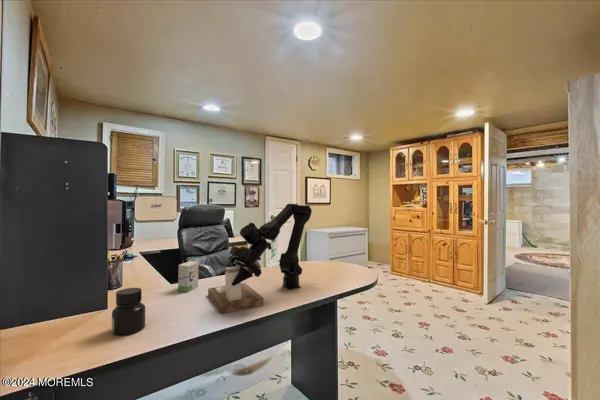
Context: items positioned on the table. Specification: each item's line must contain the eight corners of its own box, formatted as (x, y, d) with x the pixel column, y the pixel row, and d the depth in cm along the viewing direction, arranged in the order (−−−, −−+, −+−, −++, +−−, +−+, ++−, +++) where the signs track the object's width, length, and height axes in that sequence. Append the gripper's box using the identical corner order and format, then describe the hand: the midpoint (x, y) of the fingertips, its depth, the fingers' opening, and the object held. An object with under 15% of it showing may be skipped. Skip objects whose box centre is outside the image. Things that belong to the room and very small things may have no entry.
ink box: (188, 286, 132) (188, 260, 132) (198, 286, 131) (198, 261, 131) (177, 291, 124) (177, 265, 124) (187, 292, 123) (187, 265, 123)
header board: (244, 289, 127) (244, 282, 127) (263, 305, 108) (263, 297, 108) (208, 295, 119) (208, 287, 119) (221, 313, 100) (221, 304, 100)
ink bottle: (126, 322, 93) (126, 285, 93) (152, 323, 92) (152, 286, 92) (103, 336, 83) (103, 295, 83) (131, 337, 82) (131, 296, 82)
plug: (237, 302, 110) (236, 266, 111) (242, 305, 106) (240, 267, 107) (225, 305, 108) (224, 267, 109) (229, 307, 104) (228, 269, 105)
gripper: (232, 235, 118) (205, 266, 111) (254, 241, 103) (225, 276, 96) (249, 252, 122) (225, 282, 116) (272, 259, 108) (246, 294, 101)
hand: (229, 283), depth 107 cm, fingers closed on plug, 5 cm apart
